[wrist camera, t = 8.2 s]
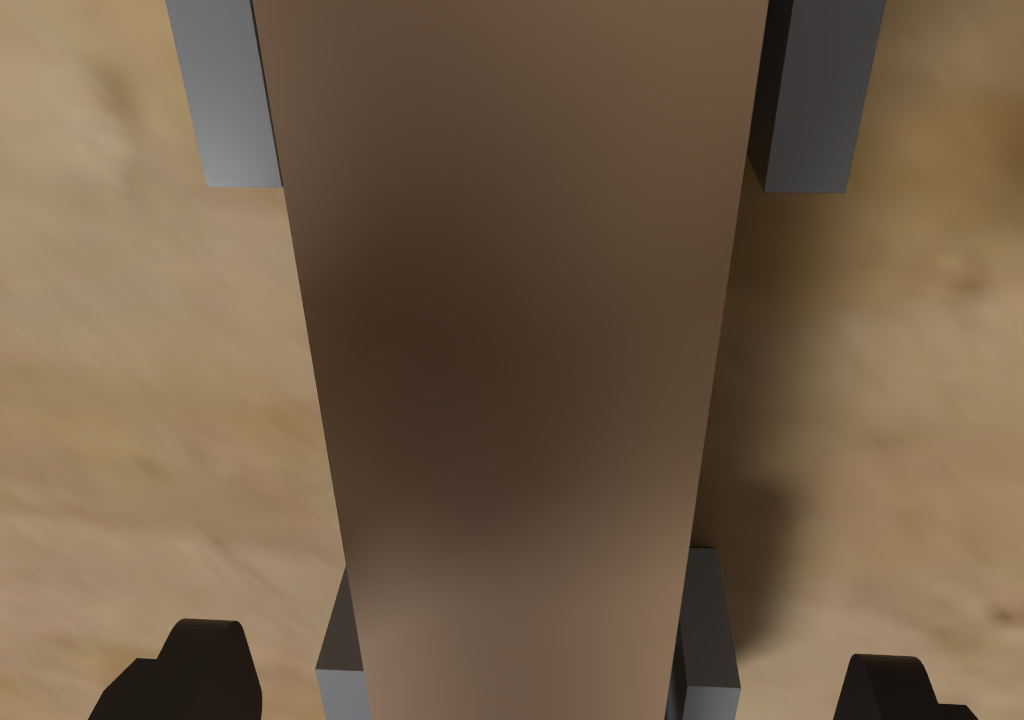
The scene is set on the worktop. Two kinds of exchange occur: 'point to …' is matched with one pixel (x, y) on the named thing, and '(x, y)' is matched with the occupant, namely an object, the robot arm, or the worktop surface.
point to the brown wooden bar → (513, 326)
